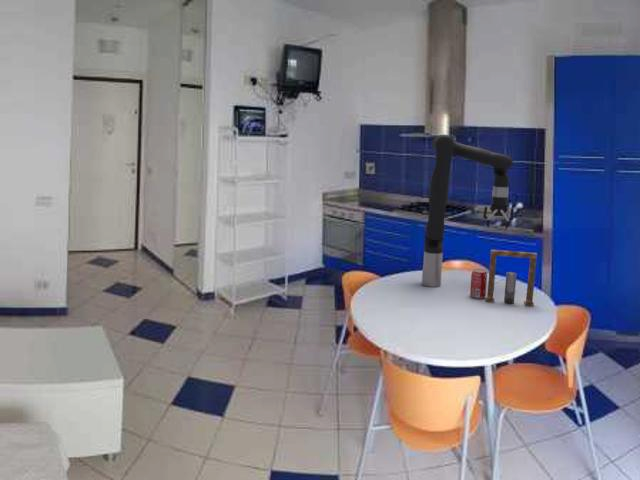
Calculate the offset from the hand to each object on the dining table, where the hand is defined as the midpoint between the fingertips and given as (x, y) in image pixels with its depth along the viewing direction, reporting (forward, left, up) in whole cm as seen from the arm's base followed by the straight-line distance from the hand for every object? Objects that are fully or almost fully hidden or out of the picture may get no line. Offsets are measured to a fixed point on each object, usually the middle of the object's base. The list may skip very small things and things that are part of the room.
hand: (497, 227), depth 266 cm
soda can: (-7, -24, -30) cm, 39 cm away
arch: (+7, -28, -30) cm, 42 cm away
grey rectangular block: (+7, -28, -30) cm, 42 cm away
